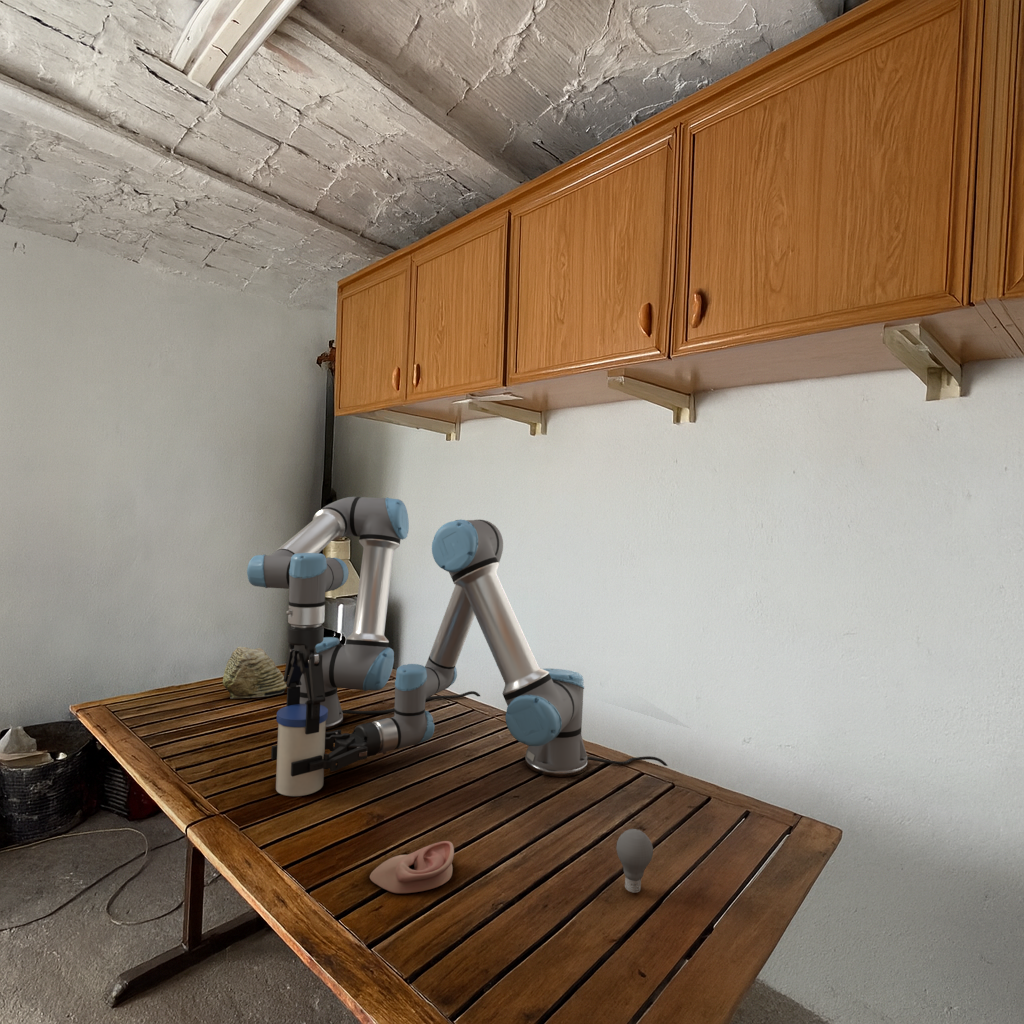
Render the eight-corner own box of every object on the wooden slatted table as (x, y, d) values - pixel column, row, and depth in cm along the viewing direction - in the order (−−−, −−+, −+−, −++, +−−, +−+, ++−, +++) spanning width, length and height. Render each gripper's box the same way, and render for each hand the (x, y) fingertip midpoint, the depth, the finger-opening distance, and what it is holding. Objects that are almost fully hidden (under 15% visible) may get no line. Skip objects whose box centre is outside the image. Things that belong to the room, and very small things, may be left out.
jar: (311, 798, 133) (314, 723, 133) (266, 793, 134) (269, 719, 134) (330, 778, 143) (333, 708, 142) (289, 773, 144) (291, 704, 144)
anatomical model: (362, 863, 103) (389, 828, 114) (361, 887, 103) (389, 850, 114) (440, 876, 100) (460, 839, 112) (439, 901, 101) (459, 861, 112)
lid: (314, 729, 132) (315, 721, 132) (267, 724, 134) (267, 717, 134) (335, 712, 143) (335, 705, 143) (291, 708, 144) (291, 701, 144)
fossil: (218, 695, 195) (220, 647, 195) (278, 685, 208) (279, 640, 207) (228, 703, 189) (230, 653, 188) (289, 692, 201) (290, 645, 201)
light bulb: (610, 879, 108) (613, 822, 108) (644, 879, 109) (647, 822, 109) (619, 902, 102) (622, 840, 102) (655, 901, 103) (658, 840, 103)
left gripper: (271, 616, 145) (267, 711, 145) (308, 636, 126) (304, 745, 127) (303, 614, 149) (300, 706, 150) (344, 633, 131) (340, 738, 131)
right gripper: (398, 770, 142) (303, 798, 127) (350, 739, 159) (261, 760, 144) (400, 737, 142) (304, 761, 127) (351, 709, 159) (262, 727, 144)
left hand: (302, 724), depth 138 cm, fingers open, 11 cm apart
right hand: (281, 760), depth 135 cm, fingers closed on jar, 10 cm apart
